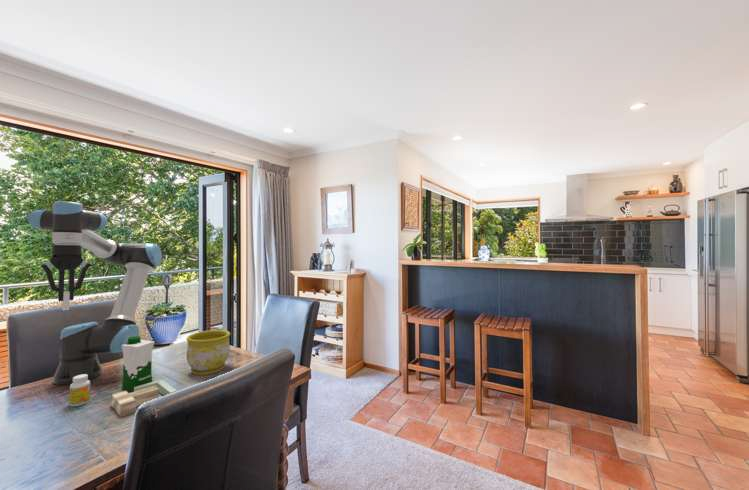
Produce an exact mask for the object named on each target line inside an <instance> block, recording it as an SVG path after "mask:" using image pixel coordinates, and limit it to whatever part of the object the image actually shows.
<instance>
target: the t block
mask: <svg viewBox="0 0 749 490" xmlns="http://www.w3.org/2000/svg"><path fill="white" fill-rule="evenodd" d="M159 393H160V392H159V389H158V388H157V387H156V386H152V387H149V388H146V389H142V390H139V391H136V392H134V391H131V392H129V391H126V390H122V391H119V392H115V393H112V394H111V407H112V408H113V409H114V410H115V411H116V413H117V415H119V417H121V418H122V417H124V416H127V415H130V414H134V413H136V408H137V407H139V406H142V405H141V404H143V403H144V402H147V401H150V400H152V399H155V398H158V399H159ZM143 405H144V404H143Z"/></svg>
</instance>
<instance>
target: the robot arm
mask: <svg viewBox="0 0 749 490" xmlns="http://www.w3.org/2000/svg"><path fill="white" fill-rule="evenodd" d="M27 220H28V224H29V226H31V227H32V228H33V229H36V230H42V231H43V230H48V231H50V232H51V233H52V234H51V235H52V236H51V237H52V238H51V239H52V240H51V242H52V246H51V257H50V259H49V261H47V262H45V263H42V264H40V267H41V268H42V270H43V271H44V272H45V273H44V274H45V276H46V279H47V282H48V285H49V287H50V291H53V292H57V300H58V302H61V310H62V311H69V310H70V301H73V300H74V296H75V295H74V293H75V291H77V290H80V289H82V285H83V283H84V280H85V277H86V273H87V271H88V269H89V268H90V267H91V266H92V264H91V263H89V262H86V261H84V258H83V256H82V251H83V249H82V248H84V249H86V250H88V251H90V252H92V253H93V254H94V256H95V257H97V258H99V259H101V260H103V261H104V262H108V263H111V264H112V265H113V264H114V265H115V266H116V265H117V266H122V267H125V268H126V273H125V275H124V278H123V281H122V284H121V287H120V290H119V292H118V294H117V298H116V300H115V302H114V305H113V308H112V311H111V313H110V315H109V317H107V318H104V320H103V324H102V325H99V322H98V321H91V322H84V323H79V324H74V325H70V326H67V327H64V328H63V329H62V330H61V332H60V337H59V363H58V366H57V369H56V370H55V373H54V374H53V379H52V380H53V381H52V383H53V384H54V385H57V386H67V385H71V384H72V383H74V382H73V377H75V376H77V375H82V374H87V375H88V379H87V380H89V381H91V380H93V379H95V378H97V377H99V376H100V375H102V374H103V367H102V365H101V363H100V361H99V359H98V354H108V353H113V354H116V353H117V354H118V353H123V350H122V345H125V344H127V343H128V338H130V337H136V336H139V337H140V328H139V326H138V325H137V322H136V320H135V316H136V312H137V310H138V306H139V303H140V300H141V297H142V295H143V291H144V288H145V285H146V282H147V278H148V277H149V276H148V275H149V274H150V273H152V272H154V269H155V267H158V266H159V267H160V265H161V264H162V261H163V254H162V250H161V248H160V246H159V245H158V244H156V243H148V242H146V243H144V242H143V243H140V242H139V243H136V242H133V243H132V242H129V243H128V242H116V241H114V240H112V239H106V238H104V237H103V236H101V235H99V234H97V233H96V232H95V231H101V230H103V229H105V228H106V226H107V225H108V218H107V217H106V215H105V214H103V213H100V212H97V211H92V210H85V209H84V208H83V204H82V203H80V202H74V201H65V200H64V201H60V200H58V201H55V202H54V203H53V208H52V209H36V210H33V211H31V212H30V213H29V215H28V218H27ZM80 265H81V270H80V272H79V274H78V278H77V280H76V284H75V272H76V269H77V268H78V267H79V266H80ZM52 266H53V267H54V268H56V269H57V272H58V276H57V277H58V278H57V279H58V280H57V282H58V284H57V285H56V283H55V279H54V276H53V273H52V271H51V268H52ZM66 271H67V272H68V278H67V279H68V283H67V284H68V285H67V286H68V288H67V290H68V291H67V290H66V291H65V272H66Z"/></svg>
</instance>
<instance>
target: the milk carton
mask: <svg viewBox="0 0 749 490" xmlns="http://www.w3.org/2000/svg"><path fill="white" fill-rule="evenodd" d="M154 345H155V341H154V340H153V341H152V340H145V339H141V336H140V335H139V336H136V337H130V338H128V343H127V344H125V345H122V350H123V352H122V355H123V362H122V363H123V368H122V384H121V386H122V387H121V390H122V391H125V390H126V391H127V392H134V387H137V386H140V385H144V384H147V383H150V382H153V374H152V365H153V364H152V361H153V359H152V358H153V357H152V356H153V348H154Z"/></svg>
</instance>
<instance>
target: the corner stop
mask: <svg viewBox="0 0 749 490" xmlns="http://www.w3.org/2000/svg"><path fill="white" fill-rule="evenodd" d="M152 386H156V387H157V388H158V389H159V393H160V394H161V395H163V396H164V395H167V394H170V393H173V392H176V391H177V390H176V389H175V388H174V387H172V386H171V385H169V384H168V383H167V382H166V381H164V380H162V379H158V380H155V381H152V382H150V383H147V384H144V385H140V386H137V387H134V391H133V392H136V391H139V390H142V389H146V388H149V387H152Z"/></svg>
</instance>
